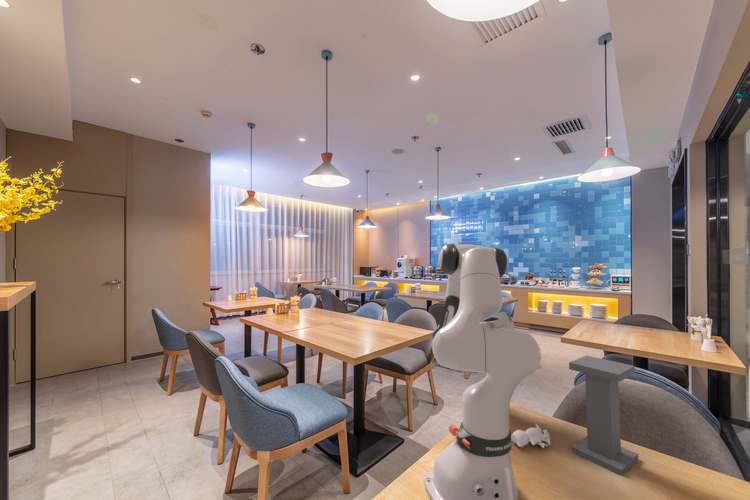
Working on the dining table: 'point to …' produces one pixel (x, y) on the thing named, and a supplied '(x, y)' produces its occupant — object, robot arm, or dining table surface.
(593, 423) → the stand
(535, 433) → the toy figure
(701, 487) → the dining table surface
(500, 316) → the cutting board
